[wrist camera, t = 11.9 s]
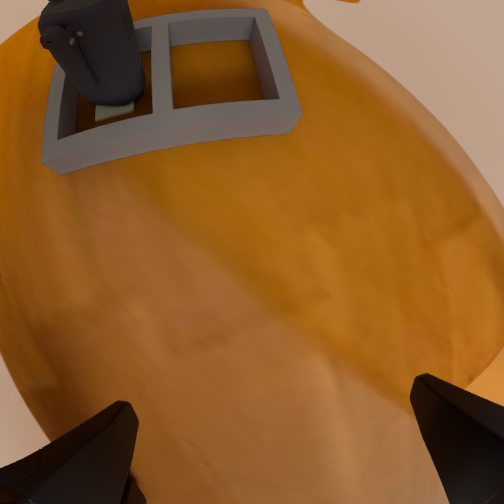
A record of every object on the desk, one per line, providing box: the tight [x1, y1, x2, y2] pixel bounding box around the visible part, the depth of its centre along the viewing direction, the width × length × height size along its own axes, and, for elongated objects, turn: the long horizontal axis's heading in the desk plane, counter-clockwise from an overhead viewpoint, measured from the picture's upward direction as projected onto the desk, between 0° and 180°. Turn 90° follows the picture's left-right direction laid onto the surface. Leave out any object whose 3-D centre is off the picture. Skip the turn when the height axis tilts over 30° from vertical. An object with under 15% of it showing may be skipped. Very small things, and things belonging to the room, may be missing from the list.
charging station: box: [41, 9, 302, 175], centre depth 15 cm, size 17×11×3 cm
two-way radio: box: [38, 0, 146, 106], centre depth 9 cm, size 6×4×15 cm
